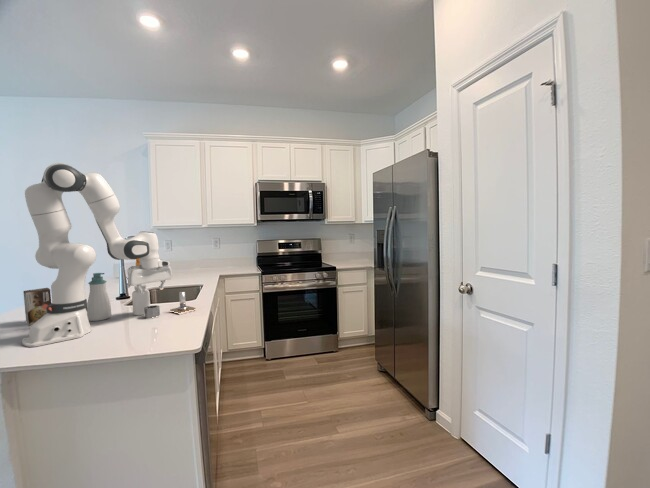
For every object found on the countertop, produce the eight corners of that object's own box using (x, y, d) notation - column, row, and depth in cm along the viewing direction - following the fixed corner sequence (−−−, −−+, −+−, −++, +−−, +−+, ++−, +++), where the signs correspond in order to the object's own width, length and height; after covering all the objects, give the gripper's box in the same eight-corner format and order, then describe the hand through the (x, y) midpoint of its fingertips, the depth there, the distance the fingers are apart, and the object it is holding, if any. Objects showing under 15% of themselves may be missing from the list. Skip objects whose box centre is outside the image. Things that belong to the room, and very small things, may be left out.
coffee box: (50, 319, 159) (48, 287, 158) (53, 321, 155) (50, 288, 154) (25, 323, 152) (23, 290, 151) (28, 326, 148) (25, 292, 147)
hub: (149, 319, 156) (148, 309, 155) (143, 317, 159) (142, 307, 159) (161, 316, 161) (161, 306, 160) (155, 314, 164) (155, 304, 164)
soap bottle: (99, 321, 153) (96, 274, 152) (82, 321, 155) (79, 274, 154) (116, 316, 163) (113, 271, 161) (100, 315, 165) (97, 271, 163)
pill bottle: (131, 316, 162) (129, 287, 161) (135, 312, 169) (134, 284, 168) (148, 314, 164) (146, 286, 163) (152, 310, 171) (150, 283, 170)
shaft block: (179, 314, 163) (178, 294, 162) (170, 312, 168) (169, 292, 167) (195, 310, 170) (194, 291, 169) (186, 308, 175) (185, 289, 175)
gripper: (130, 267, 148) (132, 296, 149) (172, 261, 165) (174, 288, 166) (124, 266, 152) (126, 294, 153) (166, 261, 168) (168, 286, 170)
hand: (151, 291), depth 160 cm, fingers open, 8 cm apart
